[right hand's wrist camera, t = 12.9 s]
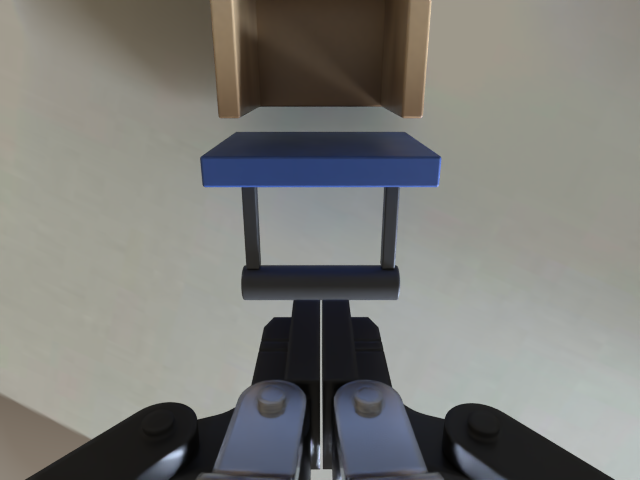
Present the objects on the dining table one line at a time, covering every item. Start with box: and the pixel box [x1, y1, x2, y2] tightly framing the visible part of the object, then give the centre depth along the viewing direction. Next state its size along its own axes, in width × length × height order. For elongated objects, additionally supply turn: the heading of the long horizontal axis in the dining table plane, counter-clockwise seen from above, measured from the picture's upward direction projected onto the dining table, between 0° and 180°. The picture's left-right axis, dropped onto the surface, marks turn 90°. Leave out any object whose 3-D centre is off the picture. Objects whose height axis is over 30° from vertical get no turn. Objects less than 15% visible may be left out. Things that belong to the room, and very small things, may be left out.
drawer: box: [200, 0, 441, 300], centre depth 19 cm, size 24×9×8 cm, turn 0°
